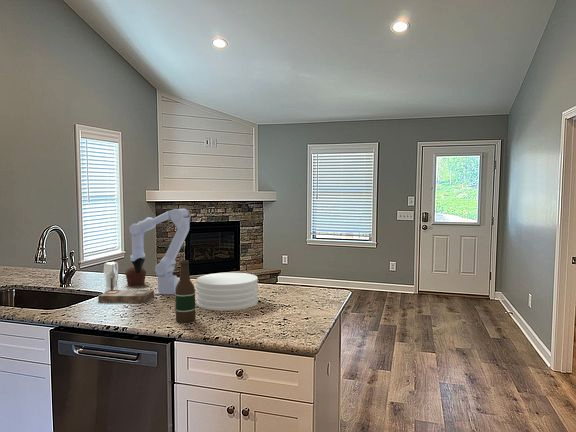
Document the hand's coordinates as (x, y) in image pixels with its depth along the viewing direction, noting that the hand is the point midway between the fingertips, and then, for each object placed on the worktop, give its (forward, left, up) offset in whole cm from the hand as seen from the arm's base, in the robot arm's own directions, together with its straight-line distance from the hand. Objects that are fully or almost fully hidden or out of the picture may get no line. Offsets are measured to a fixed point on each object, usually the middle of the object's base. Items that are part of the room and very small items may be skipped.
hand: (138, 273), depth 226 cm
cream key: (-8, +17, -9) cm, 21 cm away
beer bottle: (-39, +50, -10) cm, 64 cm away
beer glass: (+13, +3, -10) cm, 16 cm away
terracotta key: (+6, +17, -9) cm, 20 cm away
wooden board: (-1, +17, -9) cm, 19 cm away
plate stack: (-50, +21, -10) cm, 55 cm away
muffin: (+8, -16, -10) cm, 20 cm away
